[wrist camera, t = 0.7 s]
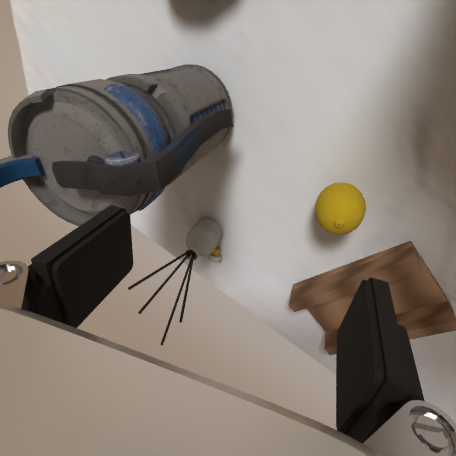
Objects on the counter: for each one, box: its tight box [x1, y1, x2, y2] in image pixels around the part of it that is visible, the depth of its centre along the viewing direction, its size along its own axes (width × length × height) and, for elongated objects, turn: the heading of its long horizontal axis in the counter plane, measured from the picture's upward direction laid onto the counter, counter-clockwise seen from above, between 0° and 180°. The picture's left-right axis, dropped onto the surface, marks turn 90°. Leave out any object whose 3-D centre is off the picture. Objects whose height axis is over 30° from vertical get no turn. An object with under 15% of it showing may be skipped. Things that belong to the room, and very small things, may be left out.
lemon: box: [315, 183, 366, 234], centre depth 35 cm, size 6×6×8 cm
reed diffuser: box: [128, 218, 222, 345], centre depth 40 cm, size 10×7×20 cm
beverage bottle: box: [0, 65, 233, 226], centre depth 28 cm, size 10×13×25 cm
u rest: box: [289, 241, 456, 355], centre depth 43 cm, size 18×12×5 cm, turn 131°
